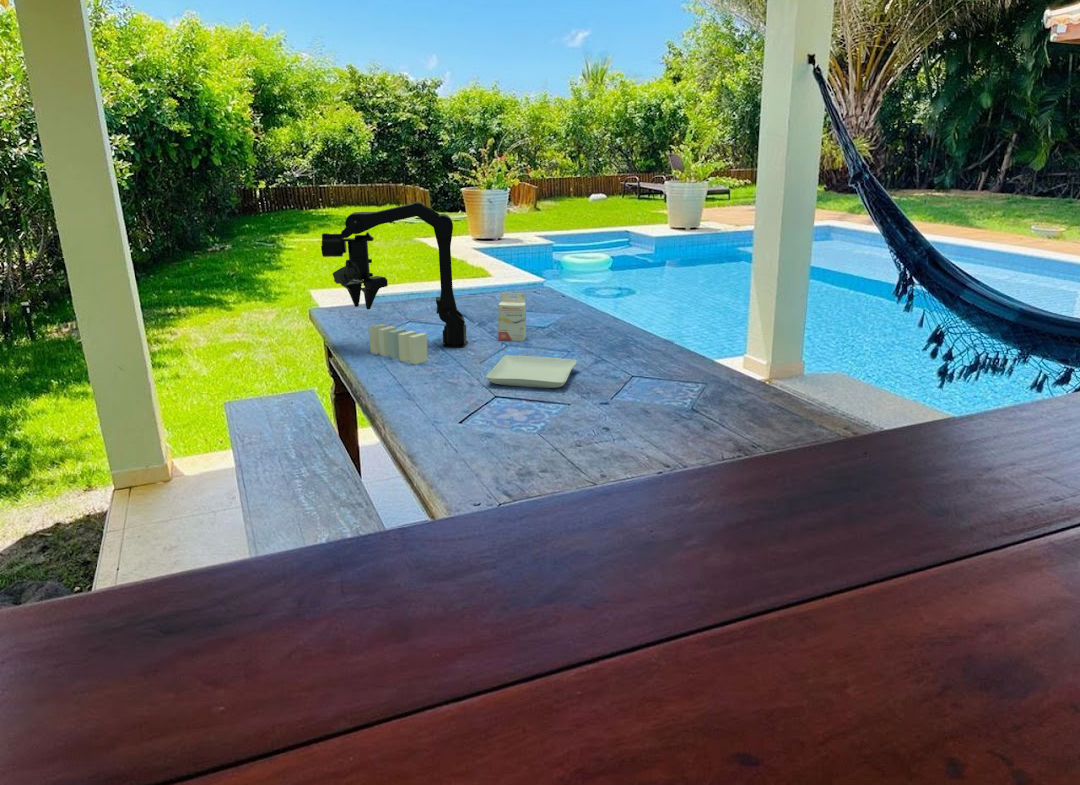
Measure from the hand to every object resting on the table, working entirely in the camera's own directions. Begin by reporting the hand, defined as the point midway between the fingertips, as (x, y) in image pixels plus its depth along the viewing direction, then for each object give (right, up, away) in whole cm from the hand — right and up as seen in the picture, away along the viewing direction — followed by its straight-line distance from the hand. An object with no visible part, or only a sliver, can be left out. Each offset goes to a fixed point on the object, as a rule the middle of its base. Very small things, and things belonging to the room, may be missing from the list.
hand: (362, 308), depth 233 cm
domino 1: (+5, -13, 0) cm, 14 cm away
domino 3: (+12, -15, -5) cm, 20 cm away
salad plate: (+52, -22, -25) cm, 62 cm away
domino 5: (+19, -17, -11) cm, 28 cm away
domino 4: (+15, -16, -8) cm, 24 cm away
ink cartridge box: (+45, -9, +14) cm, 48 cm away
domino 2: (+8, -14, -3) cm, 17 cm away
